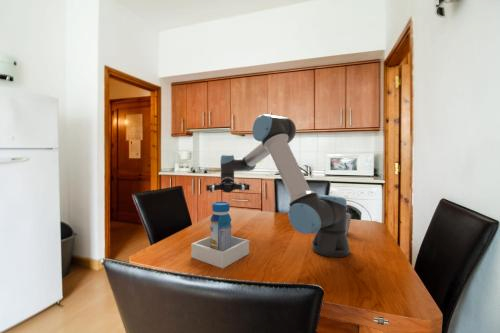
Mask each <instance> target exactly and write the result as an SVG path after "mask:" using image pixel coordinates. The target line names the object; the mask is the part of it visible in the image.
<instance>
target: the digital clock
mask: <svg viewBox="0 0 500 333" xmlns="http://www.w3.org/2000/svg"><path fill="white" fill-rule="evenodd" d="M351 219H352V214H351V213H348V212H346V236H348V233H349V227H350V225H351V224H350V223H351Z"/></svg>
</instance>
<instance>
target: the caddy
mask: <svg viewBox="0 0 500 333" xmlns="http://www.w3.org/2000/svg"><path fill="white" fill-rule="evenodd" d="M190 246H191V251H190V252H191V253H190V254H191V259H195V260H198V261H201V262H203V263H206V264H210V265H213V266H214V267H217V268H220V269H224V268H226V267H228V266H229V265H231V264H233V263H236V262H237V261H239V260H240V259H242V258H244V257H245V256H247V255H249V254H250V240H249V239H245V238H241V237H237V236H234V235H231V248H229V249H227V250H225V251H223V252H222V251H219V250H216V249H212V248H211V235H210V236H207V237H205V238H202V239H200V240H197V241H194V242H191V245H190Z"/></svg>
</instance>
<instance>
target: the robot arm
mask: <svg viewBox="0 0 500 333" xmlns="http://www.w3.org/2000/svg"><path fill="white" fill-rule="evenodd" d="M251 130H252V135H253V136H252V137H253V139H254V140H256V141H258V142H261V143H260V144H259V145H257V146H256V147H255V148H254V149H252V150H251V151H250V152H249V153H247V154H246V155H245V156H244V157H241V158H238V157H237V158H236V157H235V156H234V154H222V155H221V156H220V162H219V163H220V182H219V184H218V183H216V182H215V183H212V184H206V187H205V189H206V190H205V191H207V192H208V191H210V193H212V194H214V193H215V191H219V190H220V191H222V192H224V193H232V192H233V191H235V190H238V191H239V190H240V191H242V193H243V194H244V193H245V191H250V184H247V183H246V182H245V183H241V182H239V183H238V182H235V172H250V171H254V170H255V169H256V167H257V164H258V163H260V162H261V161H263V160H264V159H265V158H267V157H268V156H270V155H271V157H272V160H273V162H274V164H275V167H276V169H277V171H278V174H279V175H280V177H281V178H280V179H281V180H282V183H283V185H284V187H285V190H286V191H287V194H288V196H289V198H290V200H289V203H288V205H289V208H288V220H289V223H290V225H291V226H292V228H293V229H294V230H295V231H297V233H300V234H302V235H310V234H314V236H313V240H312V242H311V249H312V251H313V252H315V253H316V254H318V255H320V256H325V257H331V258H342V257H343V258H344V257H347V256H349V255H350V254H349V253H351V247H350V244H349V243H350V242H349V240H348V235H346V213H347V208H348V205H347V200H346V198H345V197H341V196H337V195H336V196H335V195H327V194H318V193H317V192H316V191H313V190H311V188H310V186H309V184H308V182H307V179H306V177H305V175H304V174H303V172H302V170H301V167H300V165H299V163H298V162H297V159H296V158H295V155H294V153H293V151H292V149H291V147H290V144H289V143H290V142H291V141H293V140H294V138H295V136H296V133H297V127H296V123H295V122H294V121H293V120H292V119H290V118H289V117H285V116H280V115H279V116H278V115H273V114H269V113H268V114H261V115H258V116H257V117H256V118H255V120H254V121H253V125H252V129H251Z"/></svg>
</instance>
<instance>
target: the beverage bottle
mask: <svg viewBox="0 0 500 333" xmlns="http://www.w3.org/2000/svg"><path fill="white" fill-rule="evenodd" d="M230 207H231V206H230V202H228V201H221V200H220V201H214V202H212V204H211V208H212V209H211V210H212V215H211V217H210V220H209V221H210V226H209V229H210V236H211V248H212V249H216V250H219V251H222V252H223V251H225V250H227V249H229V248H231V236H232V227H233V226H232V218H231V215H230V213H229V212H230Z"/></svg>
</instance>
